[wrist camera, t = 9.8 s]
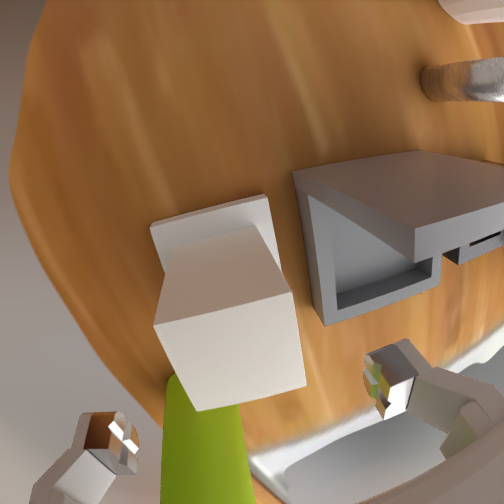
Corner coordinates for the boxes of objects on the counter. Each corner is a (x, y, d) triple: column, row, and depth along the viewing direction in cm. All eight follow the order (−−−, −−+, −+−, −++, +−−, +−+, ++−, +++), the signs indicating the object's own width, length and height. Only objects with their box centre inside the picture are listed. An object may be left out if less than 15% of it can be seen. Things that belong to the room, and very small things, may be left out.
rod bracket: (435, 167, 19) (461, 174, 16) (486, 160, 20) (510, 166, 17) (435, 250, 22) (458, 265, 19) (484, 233, 22) (506, 243, 20)
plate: (152, 222, 18) (149, 227, 17) (263, 193, 18) (267, 197, 17) (189, 327, 21) (189, 337, 20) (285, 303, 21) (289, 312, 20)
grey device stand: (291, 171, 18) (414, 228, 7) (419, 150, 19) (560, 184, 8) (313, 307, 22) (388, 436, 11) (421, 271, 22) (522, 353, 11)
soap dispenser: (160, 410, 24) (159, 618, 5) (173, 358, 22) (175, 628, 3) (221, 420, 25) (252, 617, 7) (245, 372, 23) (302, 617, 5)
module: (172, 246, 17) (152, 325, 10) (255, 225, 18) (292, 291, 10) (197, 318, 19) (198, 414, 12) (271, 300, 20) (307, 388, 12)
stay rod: (416, 66, 16) (497, 53, 9) (441, 68, 16) (520, 60, 9) (423, 101, 17) (507, 101, 10) (448, 102, 17) (528, 104, 10)
